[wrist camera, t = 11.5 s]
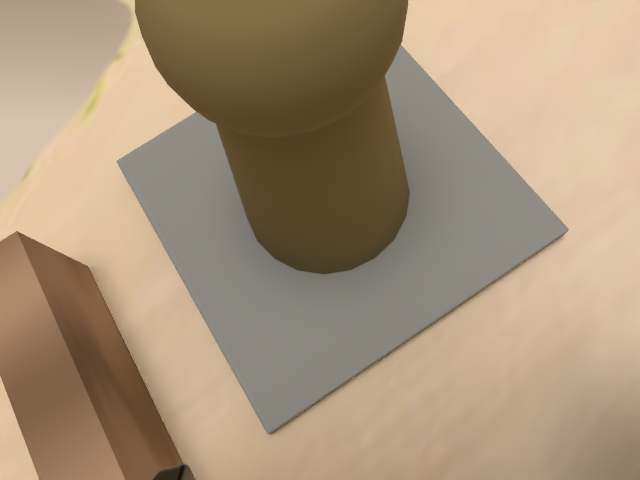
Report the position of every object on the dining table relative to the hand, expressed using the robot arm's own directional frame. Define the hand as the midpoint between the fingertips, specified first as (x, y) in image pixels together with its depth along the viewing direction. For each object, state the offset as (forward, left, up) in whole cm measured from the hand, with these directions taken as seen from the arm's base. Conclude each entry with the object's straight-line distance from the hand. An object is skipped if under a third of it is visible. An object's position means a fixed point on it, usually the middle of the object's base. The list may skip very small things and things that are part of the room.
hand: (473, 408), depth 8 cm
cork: (+8, -1, -9) cm, 12 cm away
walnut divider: (+6, +9, -9) cm, 14 cm away
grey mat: (+8, -1, -9) cm, 12 cm away
